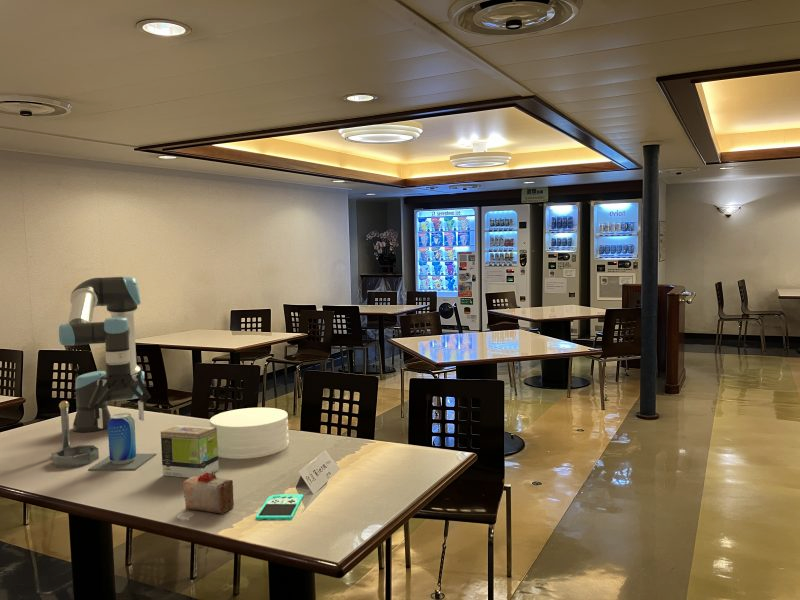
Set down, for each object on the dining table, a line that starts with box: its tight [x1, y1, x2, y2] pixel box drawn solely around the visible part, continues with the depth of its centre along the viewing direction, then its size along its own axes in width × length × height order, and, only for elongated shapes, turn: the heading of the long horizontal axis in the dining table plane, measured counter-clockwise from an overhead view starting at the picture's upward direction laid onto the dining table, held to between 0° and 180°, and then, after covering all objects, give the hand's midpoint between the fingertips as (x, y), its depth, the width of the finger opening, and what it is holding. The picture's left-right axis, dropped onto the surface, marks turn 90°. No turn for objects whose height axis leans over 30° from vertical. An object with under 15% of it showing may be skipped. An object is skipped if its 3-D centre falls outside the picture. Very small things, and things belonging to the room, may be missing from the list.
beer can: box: [107, 412, 137, 464], centre depth 212 cm, size 8×8×16 cm
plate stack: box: [209, 407, 290, 460], centre depth 227 cm, size 28×28×12 cm
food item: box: [182, 472, 235, 515], centre depth 171 cm, size 14×8×10 cm, turn 70°
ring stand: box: [51, 400, 100, 469], centre depth 217 cm, size 18×18×20 cm
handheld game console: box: [255, 493, 304, 521], centre depth 170 cm, size 10×16×1 cm, turn 178°
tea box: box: [160, 424, 219, 479], centre depth 200 cm, size 15×10×15 cm
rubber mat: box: [87, 453, 157, 471], centre depth 212 cm, size 16×16×1 cm
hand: (121, 423), depth 212 cm, fingers open, 13 cm apart
